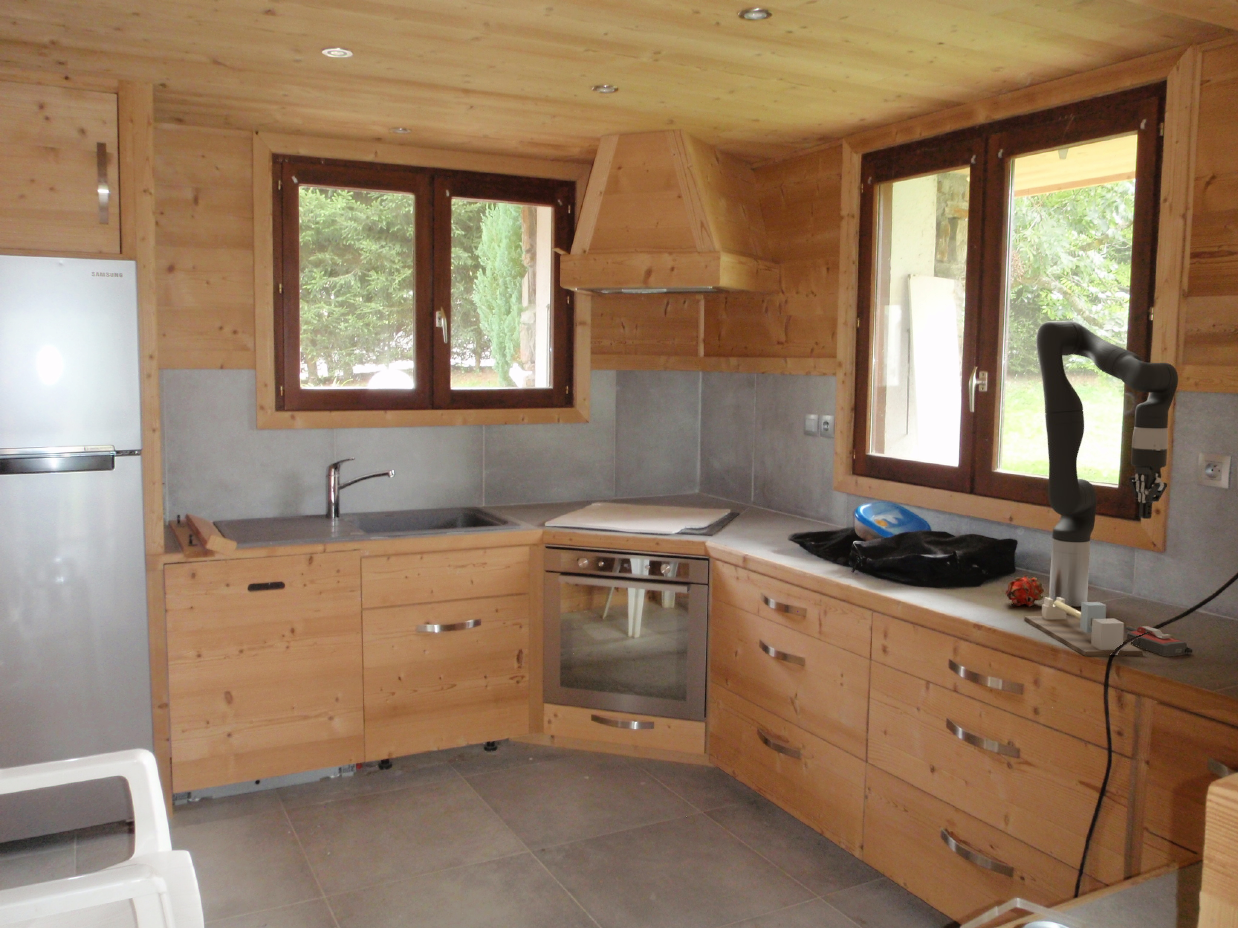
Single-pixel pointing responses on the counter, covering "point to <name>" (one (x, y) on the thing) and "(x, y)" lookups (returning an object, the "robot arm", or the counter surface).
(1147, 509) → the robot arm
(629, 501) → the counter surface
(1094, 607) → the sleeve
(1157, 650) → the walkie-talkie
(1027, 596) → the dragon fruit
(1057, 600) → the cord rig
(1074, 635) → the board
